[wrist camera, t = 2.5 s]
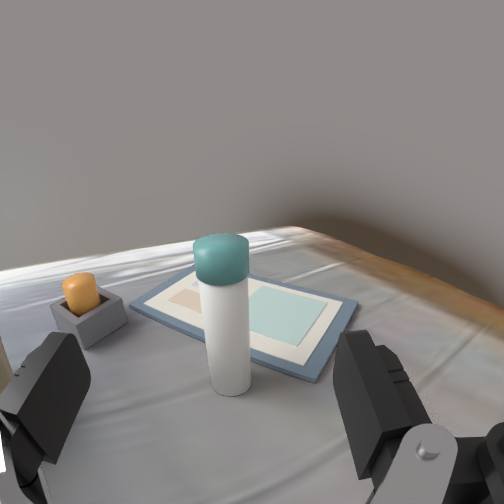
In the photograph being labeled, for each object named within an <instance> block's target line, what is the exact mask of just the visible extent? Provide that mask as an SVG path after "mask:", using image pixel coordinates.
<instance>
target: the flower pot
mask: <svg viewBox="0 0 504 504" xmlns="http://www.w3.org/2000/svg"><path fill="white" fill-rule="evenodd" d="M13 376H14V374H13V372H12V369H11V367H10V364H9V361H8V359H7V356H6V353H5V350H4V347H3V344H2V341H1V337H0V395H1V394H2V392H3V391H4V389H5V388H6V386H7V385H8V383H9V382H10V380H11V379H12V377H13Z"/></svg>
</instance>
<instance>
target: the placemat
mask: <svg viewBox="0 0 504 504" xmlns="http://www.w3.org/2000/svg"><path fill="white" fill-rule="evenodd" d="M248 296H249V329H250V361H253V362H255V363H258V364H261V365H263V366H266V367H269V368H271V369H274V370H277V371H280V372H282V373H285V374H288V375H291V376H294V377H297V378H300V379H303V380H306V381H309V382H312V383H315V382H316V381H317V379H318V377H319V376H320V374H321V372H322V371H323V369H324V367H325V365H326V364H327V362H328V360H329V358H330V357H331V355H332V353H333V351H334V349H335V348H336V346H337V344H338V339H339V335H340V333H341V332H344V331H345V329H346V327H347V325H348V323H349V321H350V319H351V317H352V316H353V314H354V312H355V310H356V308H357V306H358V301H354V300H350V299H346V298H341V297H337V296H333V295H329V294H325V293H321V292H317V291H313V290H309V289H305V288H301V287H297V286H293V285H289V284H285V283H281V282H277V281H273V280H270V279H266V278H262V277H258V276H254V275H250V274H249V275H248ZM129 307H130V308H131V309H133V310H135V311H137V312H139V313H141V314H143V315H145V316H147V317H150V318H152V319H154V320H156V321H158V322H160V323H162V324H165V325H167V326H169V327H171V328H173V329H176V330H178V331H180V332H182V333H184V334H187V335H189V336H191V337H194V338H196V339H198V340H201V341H203V342H205V334H204V326H203V318H202V310H201V302H200V293H199V284H198V279H197V277H196V271H195V264H194V265H192V266H191V267H189V268H187V269H186V270H184V271H182V272H181V273H179V274H177V275H176V276H174V277H172V278H171V279H169V280H168V281H166V282H164V283H163V284H161V285H159V286H158V287H156V288H154V289H153V290H151V291H149V292H148V293H146V294H144V295H143V296H141V297H140V298H138V299H136V300H135V301H133V302H131V303H130V304H129ZM205 343H206V342H205Z"/></svg>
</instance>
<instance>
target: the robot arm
mask: <svg viewBox="0 0 504 504" xmlns="http://www.w3.org/2000/svg"><path fill="white" fill-rule="evenodd" d="M90 382H91V375H90V370H89V367H88V365H87V363H86V360H85V358H84V356H83V353H82V351H81V348H80V346H79V343H78V340H77V338H76V336H75V335H74V334H72V333H60V332H51V333H50V334H49V335H48V336H47V338H46V339H45V340H44V342H43V343H42V344H41V346H39V347H38V348H36V349H35V350H34V351H32V352H31V353H30V354H29V355H28V356H27V357H26V359H25V360H24V361H23V363H22V364H21V368H19V369H18V370H17V371H16V373H15V377H14V376H13V377H12V379H11V380H10V382H9V383H8V385H7V386H6V388H5V389H4V391H3V392H2V394H1V395H0V504H54V503H53V500H52V497H51V494H50V492H49V489H48V485H47V482H46V479H45V476H44V473H43V470H42V469H41V467H40V464H41V462H42V461H45V462H49V463H52V464H55V465H56V463H57V460H58V458H59V455H60V453H61V450H62V448H63V445H64V443H65V441H66V438H67V436H68V434H69V431H70V429H71V427H72V424H73V422H74V420H75V418H76V415H77V413H78V411H79V409H80V407H81V404H82V402H83V400H84V398H85V396H86V394H87V392H88V389H89V387H90ZM333 385H334V390H335V394H336V397H337V401H338V405H339V408H340V412H341V415H342V419H343V422H344V426H345V430H346V433H347V437H348V441H349V444H350V448H351V452H352V456H353V460H354V463H355V467H356V471H357V475H358V479H359V480H361V479H366V478H372V482H373V485H374V488H373V490H372V491H371V493H370V495H369V497H368V499H367V501H366V502H365V504H504V422H502V423H499V424H497V425H495V426H494V427H493V428H492V429H491V430H490V431H489V433H488V434H487V435H486V437H465V438H459V437H454V436H453V435H452V433H451V432H450V431H448V430H447V429H446V428H444V427H442V426H439V425H436V424H433V423H432V422H431V420H430V418H429V416H428V414H427V412H426V410H425V408H424V406H423V404H422V402H421V400H420V398H419V396H418V394H417V393H416V391H415V389H414V387H413V385H412V383H411V382H409V377H408V375H407V374H406V372H405V371H404V368H403V366H402V364H401V362H400V361H399V359H398V357H397V355H396V354H394V353H393V352H392V351H391V350H390V349H388V348H387V347H386V346H385V345H380V346H375V344H374V342H373V340H372V338H371V336H370V334H369V333H368V331H367V330H358V331H348V332H341V333H340V335H339V339H338V345H337V352H336V358H335V364H334V370H333Z"/></svg>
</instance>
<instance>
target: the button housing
mask: <svg viewBox="0 0 504 504" xmlns="http://www.w3.org/2000/svg"><path fill="white" fill-rule="evenodd" d="M97 290H98V293H99V297H100V301H101V305H99V306H98V307H96V308H94V309H93V310H91V311H89V312H88V313H86V314H84V315H82V316H81V317H79V318H78V317H76V316H75V315H73V314H72V313H71V312H70V309H69V306H68V303H67V300H66V297H64V298H62V299H60V300H59V301H57V302H55V303H53V304H51V305H50V308H51V310H52V313H53V316H54V319H55V322H56V324H57V327H58V329H60V330H61V331H62V332H63V333H72V334H74V335H75V336H76V338H77V340H78V343H79V346H80V347H82V348H83V349H84V350H86V349H87V348H89V347H90V346H92V345H94V344H95V343H97V342H98V341H100V340H101V339H103V338H104V337H106V336H107V335H109V334H110V333H112V332H113V331H115V330H116V329H118V328H119V327H121V326H122V325H124V324H125V323H127V322H128V321H127V317H126V313H125V310H124V306H123V302H122V298H121V297H119V296H116V295H114V294H112V293H110V292H108V291H106V290H104V289H102V288H100V287H98V286H97Z"/></svg>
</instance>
